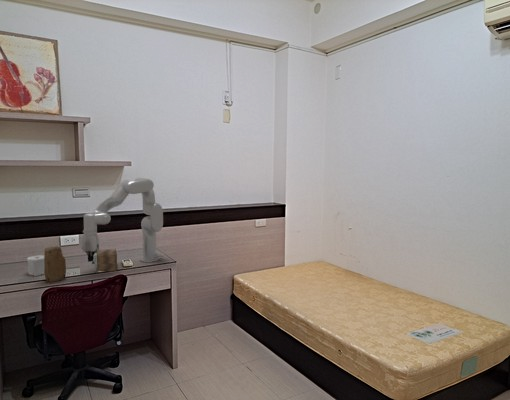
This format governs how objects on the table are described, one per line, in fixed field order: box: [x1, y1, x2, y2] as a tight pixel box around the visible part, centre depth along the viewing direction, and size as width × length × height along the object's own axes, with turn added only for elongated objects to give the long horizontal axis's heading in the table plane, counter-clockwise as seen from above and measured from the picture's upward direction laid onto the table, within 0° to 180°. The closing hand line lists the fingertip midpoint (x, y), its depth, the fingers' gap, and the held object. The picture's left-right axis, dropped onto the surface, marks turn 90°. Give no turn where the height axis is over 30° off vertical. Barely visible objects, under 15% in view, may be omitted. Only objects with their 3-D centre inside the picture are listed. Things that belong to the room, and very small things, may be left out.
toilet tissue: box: [26, 254, 45, 277], centre depth 234 cm, size 11×12×10 cm
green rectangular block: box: [91, 253, 97, 272], centre depth 245 cm, size 3×14×10 cm, turn 24°
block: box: [43, 245, 67, 283], centre depth 223 cm, size 11×8×20 cm
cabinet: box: [96, 248, 118, 272], centre depth 248 cm, size 12×14×11 cm
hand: (90, 261), depth 239 cm, fingers closed
